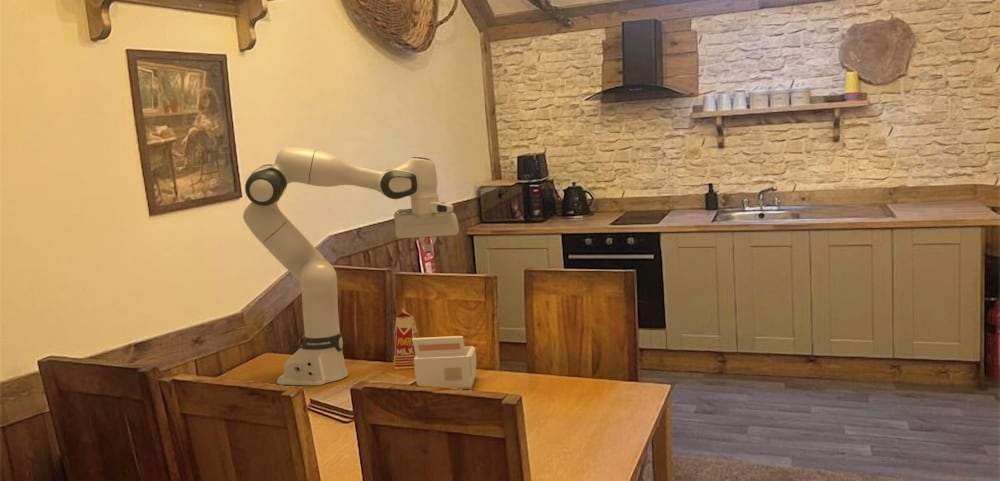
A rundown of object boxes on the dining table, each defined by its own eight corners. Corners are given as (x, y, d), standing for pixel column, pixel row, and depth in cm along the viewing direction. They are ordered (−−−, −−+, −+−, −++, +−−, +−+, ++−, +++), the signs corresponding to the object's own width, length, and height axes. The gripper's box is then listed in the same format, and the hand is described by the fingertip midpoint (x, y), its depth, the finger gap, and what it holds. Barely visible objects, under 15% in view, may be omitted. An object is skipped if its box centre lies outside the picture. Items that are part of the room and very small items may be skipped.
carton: (415, 392, 215) (413, 359, 214) (423, 379, 228) (421, 348, 227) (473, 390, 214) (470, 356, 212) (477, 377, 226) (475, 345, 225)
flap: (417, 356, 214) (416, 358, 213) (412, 338, 209) (411, 340, 208) (466, 354, 213) (466, 356, 212) (462, 335, 207) (462, 337, 207)
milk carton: (420, 368, 241) (415, 309, 238) (392, 370, 241) (387, 310, 239) (423, 361, 250) (419, 303, 248) (396, 362, 250) (392, 305, 248)
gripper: (391, 210, 231) (394, 253, 232) (455, 206, 229) (458, 250, 230) (395, 209, 237) (399, 251, 238) (457, 205, 235) (460, 247, 236)
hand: (428, 250), depth 234 cm, fingers closed
